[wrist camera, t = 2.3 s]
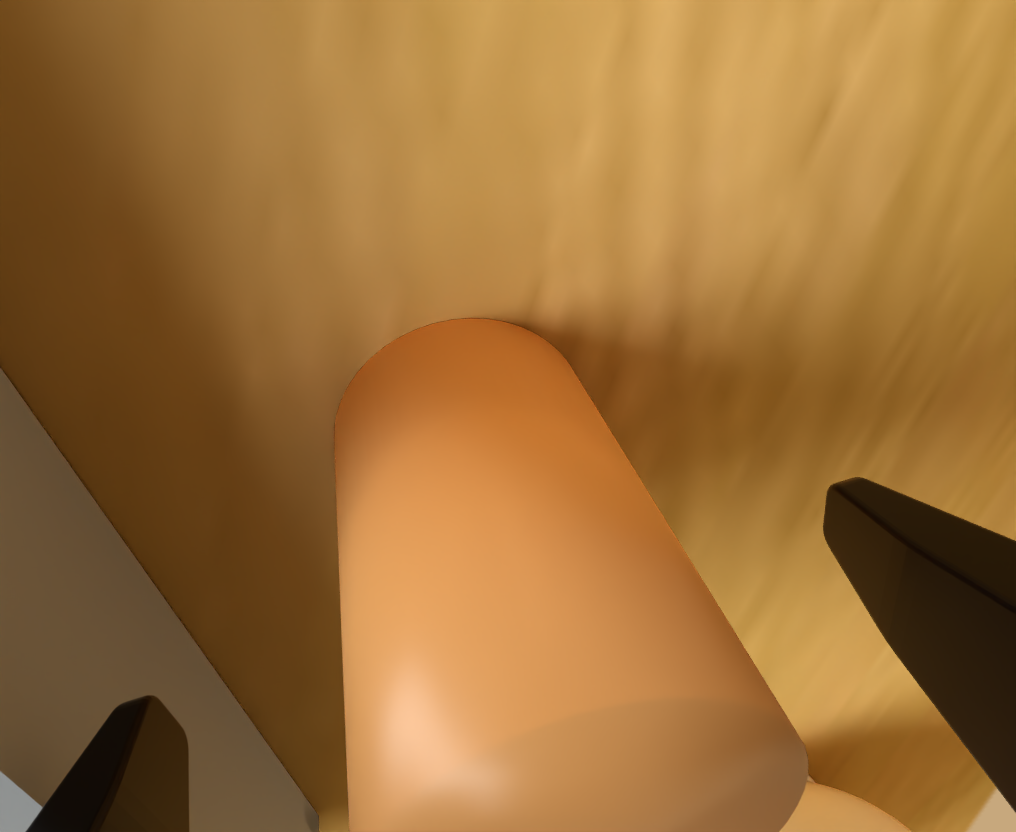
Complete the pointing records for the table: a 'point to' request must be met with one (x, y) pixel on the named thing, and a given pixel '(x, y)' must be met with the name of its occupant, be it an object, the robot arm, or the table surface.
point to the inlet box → (105, 652)
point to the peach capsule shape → (530, 614)
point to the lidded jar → (838, 813)
